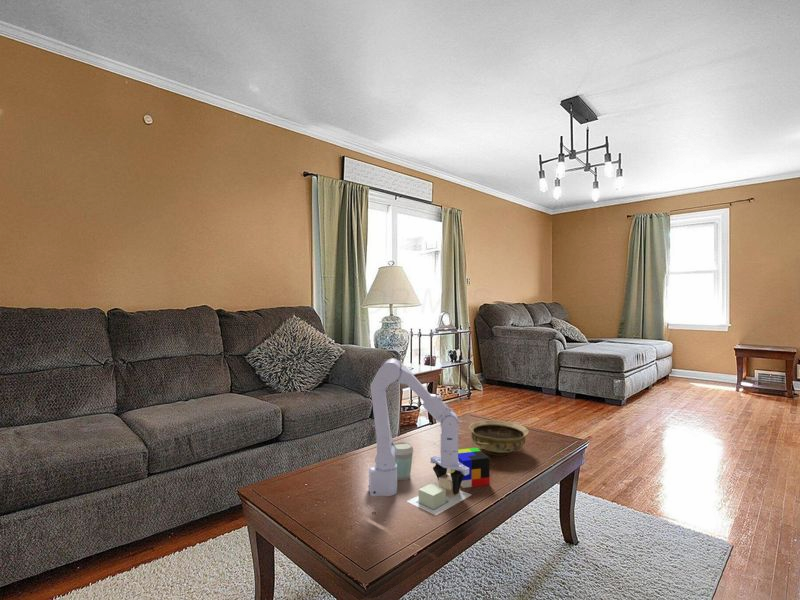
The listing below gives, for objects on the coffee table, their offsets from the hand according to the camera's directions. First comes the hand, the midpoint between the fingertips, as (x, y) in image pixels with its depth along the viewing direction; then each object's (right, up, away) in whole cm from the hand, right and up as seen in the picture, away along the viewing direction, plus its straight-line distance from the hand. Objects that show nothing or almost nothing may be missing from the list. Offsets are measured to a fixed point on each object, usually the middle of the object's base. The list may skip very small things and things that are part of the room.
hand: (449, 490), depth 140 cm
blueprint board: (-4, -2, -4) cm, 5 cm away
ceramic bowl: (+25, -1, +38) cm, 45 cm away
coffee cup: (-16, -2, +13) cm, 20 cm away
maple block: (0, -1, 0) cm, 1 cm away
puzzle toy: (+8, -2, +10) cm, 13 cm away
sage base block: (-6, -1, -6) cm, 9 cm away
